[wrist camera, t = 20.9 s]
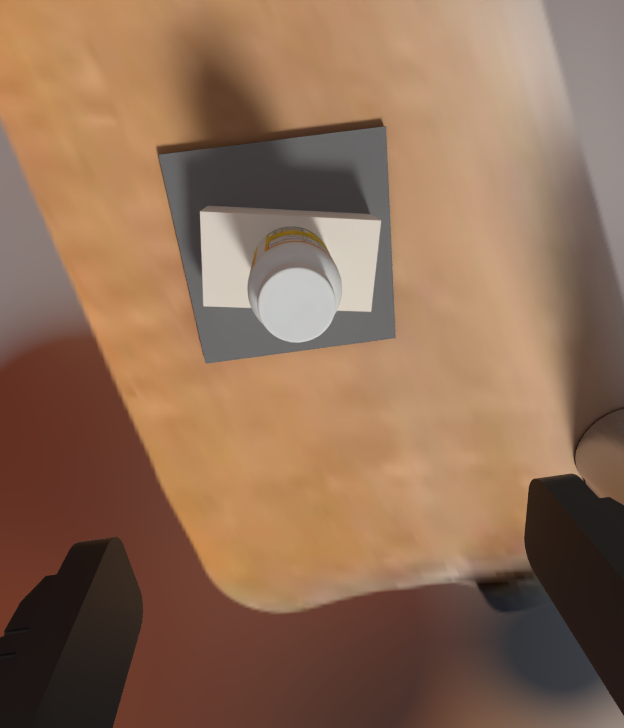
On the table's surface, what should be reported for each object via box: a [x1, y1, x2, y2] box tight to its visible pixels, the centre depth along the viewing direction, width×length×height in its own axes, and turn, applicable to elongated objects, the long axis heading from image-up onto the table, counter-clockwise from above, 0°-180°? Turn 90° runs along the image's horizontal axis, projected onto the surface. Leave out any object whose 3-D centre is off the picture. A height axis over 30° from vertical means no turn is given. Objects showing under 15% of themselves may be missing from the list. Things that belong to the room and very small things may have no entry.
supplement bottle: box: [247, 226, 342, 343], centre depth 28 cm, size 5×5×10 cm
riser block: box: [200, 206, 381, 312], centre depth 34 cm, size 6×12×4 cm, turn 87°
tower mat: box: [159, 126, 395, 363], centre depth 37 cm, size 16×16×1 cm
